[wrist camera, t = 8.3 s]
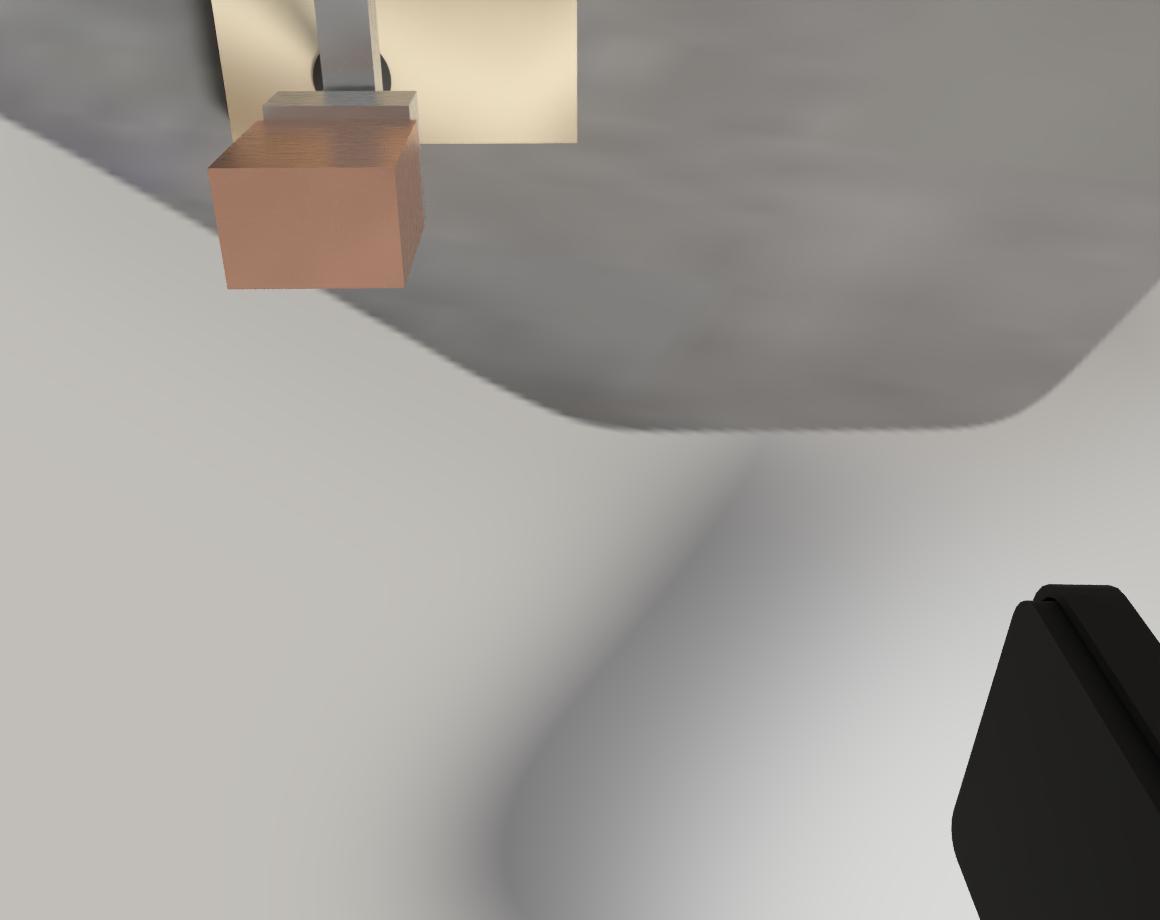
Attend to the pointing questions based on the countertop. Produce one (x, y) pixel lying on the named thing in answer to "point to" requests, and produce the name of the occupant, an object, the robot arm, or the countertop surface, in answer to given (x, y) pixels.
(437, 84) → the hole plate
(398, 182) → the slider block
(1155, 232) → the countertop surface
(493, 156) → the countertop surface
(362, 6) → the divider frame
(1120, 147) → the countertop surface
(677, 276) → the countertop surface
